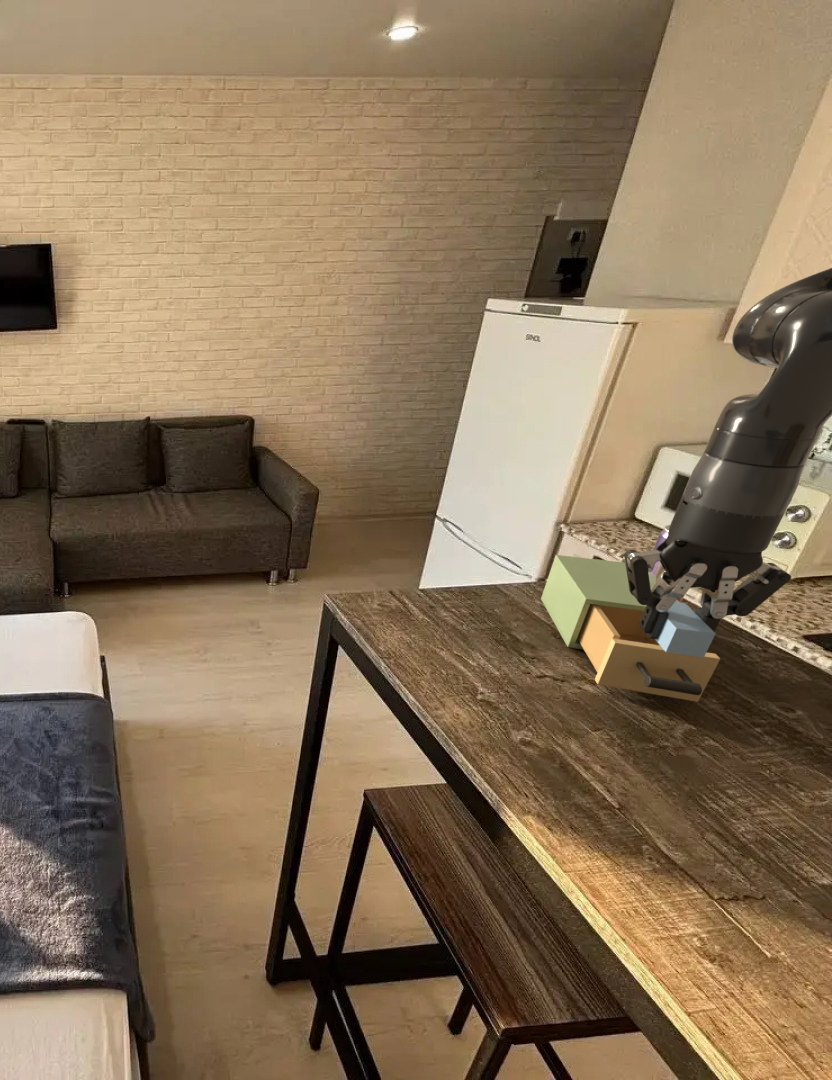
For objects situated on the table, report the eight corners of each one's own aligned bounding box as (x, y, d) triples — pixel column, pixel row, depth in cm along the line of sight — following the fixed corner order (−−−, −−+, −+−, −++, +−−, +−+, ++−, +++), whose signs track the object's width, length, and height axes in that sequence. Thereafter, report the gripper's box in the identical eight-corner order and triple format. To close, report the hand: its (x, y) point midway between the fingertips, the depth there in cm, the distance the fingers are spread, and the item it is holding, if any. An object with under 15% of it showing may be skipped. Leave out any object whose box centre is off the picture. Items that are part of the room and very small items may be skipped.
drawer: (716, 725, 75) (741, 681, 72) (609, 706, 79) (628, 663, 76) (651, 642, 91) (669, 603, 88) (565, 629, 95) (580, 591, 92)
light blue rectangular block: (675, 625, 69) (685, 603, 67) (704, 657, 63) (715, 633, 62) (640, 621, 70) (649, 598, 69) (665, 652, 64) (676, 628, 63)
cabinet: (665, 662, 88) (689, 612, 84) (567, 647, 92) (586, 598, 88) (625, 610, 101) (644, 564, 97) (540, 598, 105) (555, 554, 101)
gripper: (799, 492, 60) (730, 630, 68) (633, 481, 65) (585, 611, 72) (853, 520, 54) (770, 668, 61) (665, 506, 58) (609, 645, 66)
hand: (670, 637), depth 67 cm, fingers closed on light blue rectangular block, 3 cm apart
